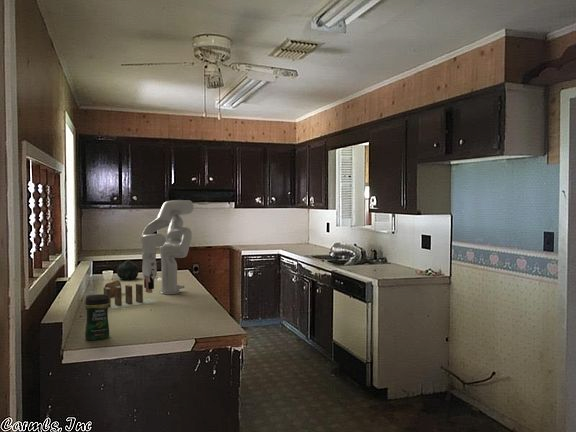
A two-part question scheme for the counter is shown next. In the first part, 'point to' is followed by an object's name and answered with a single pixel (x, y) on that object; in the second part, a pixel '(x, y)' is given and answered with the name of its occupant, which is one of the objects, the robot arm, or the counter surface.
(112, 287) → the tin
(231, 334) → the counter surface
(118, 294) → the domino
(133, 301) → the mat
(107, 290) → the domino
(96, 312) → the coffee jar
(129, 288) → the domino
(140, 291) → the domino
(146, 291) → the domino
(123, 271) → the squash
